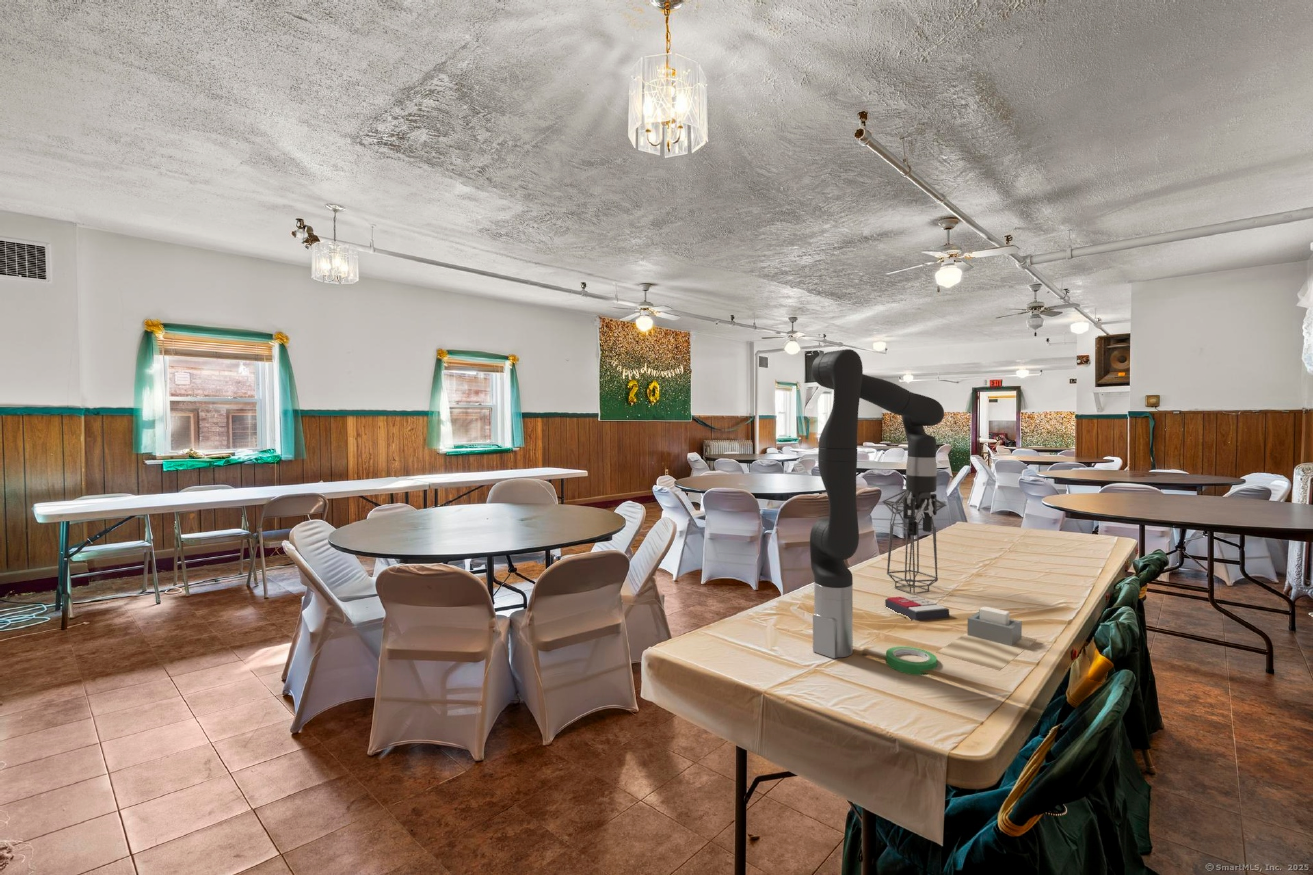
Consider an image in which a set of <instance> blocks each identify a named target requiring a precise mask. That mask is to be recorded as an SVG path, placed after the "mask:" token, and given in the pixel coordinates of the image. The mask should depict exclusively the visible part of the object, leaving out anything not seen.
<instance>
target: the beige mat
mask: <svg viewBox="0 0 1313 875" xmlns="http://www.w3.org/2000/svg"><path fill="white" fill-rule="evenodd" d="M1036 641H1037V638H1034V637H1033V638H1032V637H1028V636H1024V635H1022V639H1021V640H1019V641H1018V642H1017V643H1015V644H1014V645H1013V646H1008V645H1004V644H1000V643H996V642H992V641H989V640H985V639H981V638H977V637H973V636H969V635H967V632H965V633H964V634H962V635H961V636H960V637H958V638H956V639H955V640H953V641H952V642H950V643H949V644H947V645H945V646H944V647H942V648H941V649H939V650H938V651H936V652H935V653H936V654H940V655H944V656H947V657H950V658H954V659H958V660H961V661H965V662H968V663H972V664H976V665H978V666H981V667H985V668H988V669H992V670H996V671H998V672H999V671H1001V670H1002V669H1003V668H1004V667H1005V666H1007V665H1008V664H1009V663H1011V662H1012V661H1013V660H1014V659H1015V658H1016V657H1018V656H1019V655H1020V654H1021V653H1022V652H1023V651H1025V650H1026V649H1027V648H1028V647H1030V646H1031V645H1033V643H1034V642H1036Z"/></svg>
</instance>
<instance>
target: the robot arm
mask: <svg viewBox="0 0 1313 875" xmlns="http://www.w3.org/2000/svg"><path fill="white" fill-rule="evenodd" d="M863 372H864V369H863V362H862V359H861V356H860V355H859V353H858V352H857V351H855V350H854V349H848V348H846V349H839V350H833V351H827V352H824V353H821V354H819V355H818V356H817V357H815V359H814V360H813V363H812V365H811V373H812V374H811V375H812V377H813V379H814V381H815V382H816V383H817V384H818V385H819V386H820V387H823V388H826V389H829V390H830V389H831V390H833V400H832V403H833V404H832V407H831V411H830V414H829V416H828V419H827V421H826V422H825V424H824V427H823V428H822V431H821V432H820V433H821V434H820V436H819V440H818V451H817V452H818V454H817V455H818V456H817V457H818V459H817V460H818V461H817V462H818V464H817V466H818V471H819V474H820V478H821V481H822V484H823V487H824V489H825V492H826V495H827V498H828V505H829V507H828V508H829V510H828V512H829V514H828V517H821V518H819V519H818V520H816V521H815V522H814V523H813V524H812V527H811V530H810V534H809V555H810V566H811V571H812V573H813V577H814V578H813V579H814V580H813V581H814V582H813V584H814V595H813V597H814V598H813V600H814V601H813V602H814V603H813V605H814V607H813V609H814V613H813V614H812V652H813V653H817V654H820V655H823V656H826V657H829V658H831V659H837V658H846V657H849V656H851V655H853V653H854V652H853V651H854V650H853V647H854V646H853V644H854V640H853V639H854V637H853V635H854V634H853V633H854V632H853V630H854V628H853V627H854V624H853V622H854V621H853V617H854V616H853V615H854V614H853V605H854V604H853V602H854V600H853V588H854V587H853V584H854V582H853V578H854V577H853V573H852V571H851V570H850V569H849V568H848V567H847V565H846V562H845V560H849V559H850V558H852V557H853V556H854V555H855V553H856V552H857V549H858V548H859V547H858V546H859V542H860V533H859V532H860V530H859V519H858V517H859V516H858V508H857V507H858V506H857V466H858V424H859V422H858V421H859V409H860V408H859V405H860V399H861V400H863V401H866V402H869V403H871V404H873V405H875V406H877V407H879V408H881V409H883V410H885V411H887V412H889V413H891V414H894V415H896V416H901V420H902V421H901V422H902V425H903V429H904V431H905V432H904V433H905V437H906V440H907V458H906V459H907V460H906V468H905V470H906V471H905V475H906V476H905V490H908V491H911V493H910V495H911V497H910V496H909V497H907V496H905V498H904V500H903V502H904V503H903V504H904V511H903V519H904V520H906V521H908V522H907V523H908V524H907V527H908V536H911V535H913V536H914V537H915V536H916V537H917V533H918V522H919V520H918V518H919V517H920V516H922V515H921V514H923V519H922V524H923V525H922V528H923V530H922V531H923V532H928V533H931V532H933V529H932V528H933V527H932V518H933V519H934V517H935V516H937V512H938V511H937V508H938V507H937V506H938V505H937V504H938V502H937V500H938V499H937V496H938V495H937V494H936V493H935V492H937V480H938V479H937V476H938V473H937V472H938V471H937V470H938V465H937V464H938V463H937V440H936V437H935V436H933V435H930V434H928V433H926V431H925V427H933V426H937V425H939V424H940V423H941V422H942V421H943V419H944V417H945V410H944V409H945V408H944V407H943V406H942V404H941V403H940V402H939V401H938V400H937V399H934V398H933V397H929V396H926V395H923V394H919V393H916V392H911V391H910V390H907V389H906V388H904V387H902V386H901V385H899V384H896V383H894V382H891V381H889V380H886V379H881V378H878V377H874V376H870V375H867V374H864V373H863Z"/></svg>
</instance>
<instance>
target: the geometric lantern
mask: <svg viewBox="0 0 1313 875" xmlns="http://www.w3.org/2000/svg"><path fill="white" fill-rule="evenodd" d="M900 495H901V496H900ZM897 496H900V497H898V498H896V497H897ZM905 496H907V497H911V491H908V490H906V489H905V490H903V491H900V492H898V493H897V494H894V495H892V496H890V497H888V498H885V499H883V500H882V501H881V503H883V504H884V505H885V506H886V507H887V509H888V510H890V512H891V518H890V522H889V536H888V537H889V538H888V551H887V552H888V554H887V568H886V570H887V571H886V575H887V576H889V578H891V580H892V581H893V582H894V589H895V590H898V589H900V590H899V591H901V590H902V591H901V592H904V591H905V592H904V593H906V594H909V593H917V594H922V593H928V592H930V586H932V585H933V584H935V583H937V582H938V581H939V579H938V557H937V555H938V552H937V548H938V547H937V526H935V524H934V517H933V518H932V540H933V541H932V542H933V556H934V558H933V559H934V572H935V575H931V574H928V573H925V572H921V571H920V568H919V567H920V559H919V558H920V556H919V555H920V554H919V553H920V552H919V551H920V542H919V541H920V536H919V534H920V531H919V530H922V531H923V527H922V528H919V527H920V526H923V523H921V522H922V521H923V518H924V517H923V514H921V515H920V516H919V518H918V521H917V522H918V533H917V535H916V560H915V536H913V535H910V547H909V548H908V544H909V543H908V541H909V534H908V522H906V521H905V519H904V517H903V516H902V514H901V513H903V512H904V499H905ZM893 498H896V500H895V501H893V500H892V501H890V500H891V499H893ZM944 507H947V504H946V503H944V502H942V501H940V500H939V499H937V512H938V511H939V510H941V509H943V508H944ZM899 508H901V509H899ZM894 510H895V511H894ZM896 515H899V517H900V519H901V521H902V522H897V523H895V521H896ZM900 525H904V526H900ZM894 527H897V528H901V529H905V530H906V533H905V553H904V554H905V556H904V557H905V558H904V560H905V561H904V570H896V571H895V570H894V571H890V567H891V566H890V565H891V556H892V555H891V554H892V545H893V537H894V536H893V534H894ZM908 549H910V550H909V561H908ZM915 561H916V563H915ZM908 562H909V563H908ZM915 564H916V565H915ZM908 565H909V566H908ZM911 566H912V569H911ZM896 573H897V574H899V573H904V578H901V577H899V576H897V575H894V574H896ZM911 573H912V576H913V577H912V576H911ZM907 574H909V578H907ZM918 574H920V575H923V576H927V577H929V578H931V579H916V578H917V577H918V576H917V575H918ZM932 578H933V579H932ZM896 579H898V580H896ZM902 582H906V584H905V583H902ZM927 582H929V583H927ZM916 583H919V584H923V585H916ZM897 584H899V585H897ZM902 587H908V588H909V591H907V590H904V589H901V588H902ZM924 587H927V588H924ZM915 588H919V589H923V591H916V590H915ZM912 589H913V591H912ZM915 591H916V592H915Z"/></svg>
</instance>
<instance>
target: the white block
mask: <svg viewBox="0 0 1313 875" xmlns="http://www.w3.org/2000/svg"><path fill="white" fill-rule="evenodd" d="M978 612H979V619H980V620H984V621H988V622H992V623H997V624H1001V625H1005V626H1009V619H1010V611H1008V610H1002V609H999V608H993V607H989V606H985V605H984V606H982V607H980V609H978Z"/></svg>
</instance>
